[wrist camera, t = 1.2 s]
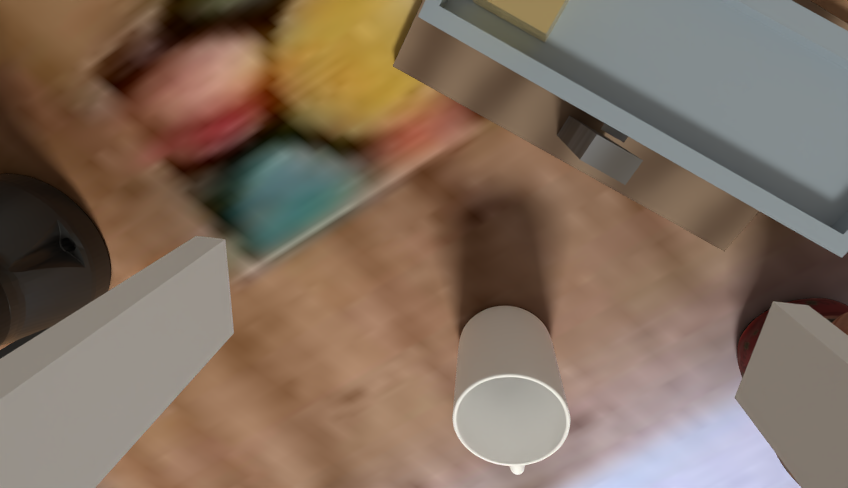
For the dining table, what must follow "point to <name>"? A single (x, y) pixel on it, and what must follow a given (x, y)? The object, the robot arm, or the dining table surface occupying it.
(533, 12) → the block
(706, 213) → the low stand
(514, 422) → the cup
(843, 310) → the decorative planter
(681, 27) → the grey long tray
